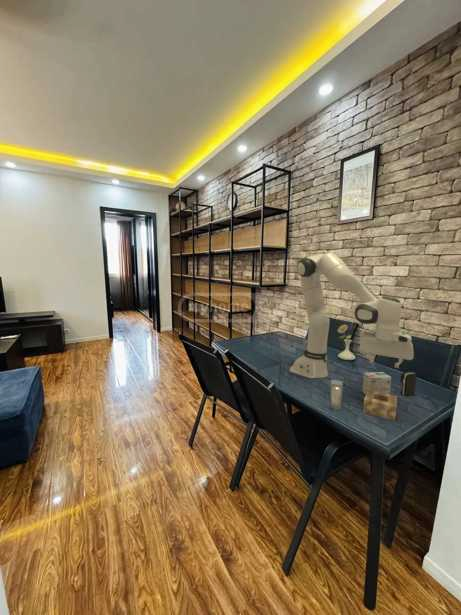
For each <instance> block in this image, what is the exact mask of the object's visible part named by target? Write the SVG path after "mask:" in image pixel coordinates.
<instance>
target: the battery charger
mask: <svg viewBox="0 0 461 615" xmlns="http://www.w3.org/2000/svg"><path fill="white" fill-rule="evenodd" d="M400 374H401V375H400V381H399V382H400V383H401V385H402V387H401V388H402V389H401V391H400V394H401V395H402V396H405V397H406V396H412V395H415V394H416V392H415V391H416V385H417V377H418V376H417V373H415V372H412V371H404V372H402V373H400Z"/></svg>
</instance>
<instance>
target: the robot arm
mask: <svg viewBox="0 0 461 615" xmlns="http://www.w3.org/2000/svg"><path fill="white" fill-rule="evenodd" d="M296 271H297V273H298V275H300V286H301V290H302V295H303V300H304V305H305V309H306V314H307V319H308V333H307V334H308V335H307V347H306V348H305V349H304V350H303V355H301V356H300V357H298V358H297V359H296V360H294V363H293V365H291V366H290V368H289V372H290V373H293V374H297V375H299V376H302V377H306V378H308V379H312V380H313V379H317V378H318V379H323V378H326V377H328V376H329V371H328V368H327V360H328V351H327V349H328V348H327V347H328V346H327V345H328V337H329V331H330V330H329V329H330V318H329V317H330V316H329V315H328V313H327V309H326V304H325V302H326V301H325V296H324V292H323V288H322V283H321V276H322V275H324V277H325V279H326V280H327V282H329V283H330V284H331V285H332V286H333V287H335V288H337V289H339V290H345V291H348V292H350V293H352V294H354V295H355V296H356V297H357V298H358V299H359V300H360V301H361V302H362V303H360V304H358V305H357V306H356V307H355V310H354V317H355V319H356V321H357V322H358V323H359V324H362V325H363V324H364V325H371V324H373V325H375V331H374V332H367V331H363V332H360V333H359V341H360V343H359V349H358V350H359V351H360V352H361V353H364V354H367V357H368V359H369V363H370V364H372V365H373V364H374V363H375V361H374V360H375V358H373V357H372V355H377V356H383V357H388V358H396V359H398V362H394V368H395V369H400V368H399V367H400V365H401V364H402V363H403V361H404V360H407V361H412V360H413V359H414V356H415V355H414V345H413V342H412V340H413V339H412V336H411V335H410V334H407V333H405V332H402V331H400V330H401V327H400V322H401V318H402V304H401V301H400V300H399V298H395V297H391V296H380V297H379V298H378V297H377V296H376V295H375V294H374V292H372V290H370V288H369V287H368V286H367V285H366V284H365V283H364V282H362V281H361V279H359V278H358V277H357V276H356V274H354V273H353V271H352V270H351V269H350V268H349V267H348V265H347V264H346V263H345V262H344V261H343V260H342V258H340V257H339V256H338V255H337V254H336V253H334V252H331V251H330V252H323V253H319V254H318V253H317V254H312V255H311V256H307V257H303V258H301V259H300V260H298V262H297V263H296Z"/></svg>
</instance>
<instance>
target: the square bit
mask: <svg viewBox="0 0 461 615" xmlns="http://www.w3.org/2000/svg"><path fill="white" fill-rule="evenodd" d="M333 385H338V386H341V387H342V391H341V402H342V400H343V386H344V384H343V381H342V380H337V379H330V388H329V389H330V392H329V397H330V399H329V400H331V396H332V386H333Z"/></svg>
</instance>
